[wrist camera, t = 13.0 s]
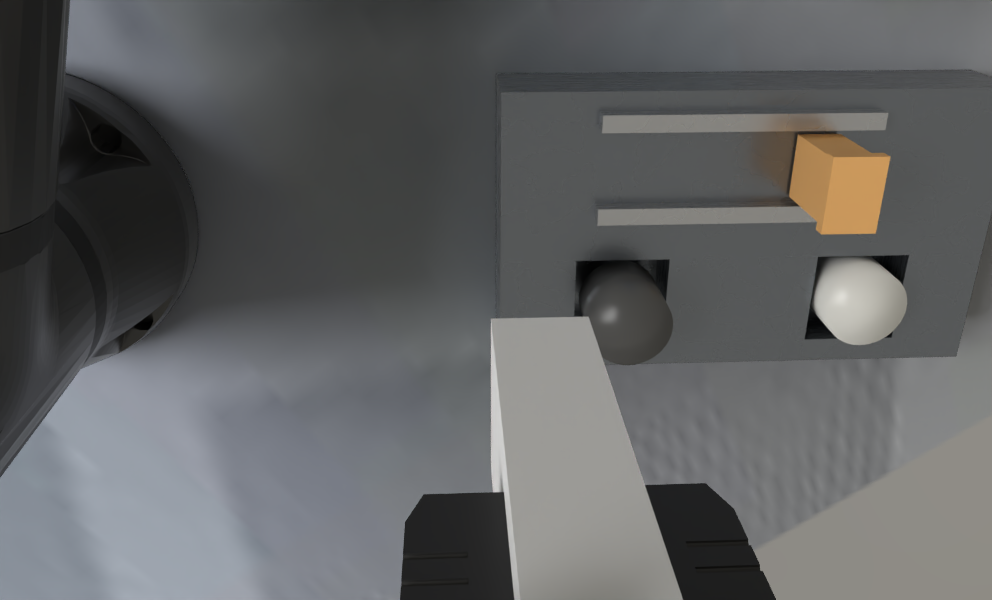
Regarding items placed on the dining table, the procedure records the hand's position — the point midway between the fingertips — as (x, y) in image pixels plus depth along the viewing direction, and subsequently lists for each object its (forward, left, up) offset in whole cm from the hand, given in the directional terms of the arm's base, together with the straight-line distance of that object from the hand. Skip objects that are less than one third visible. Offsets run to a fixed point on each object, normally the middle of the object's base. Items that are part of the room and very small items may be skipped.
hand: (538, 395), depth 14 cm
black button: (+7, -12, -29) cm, 32 cm away
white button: (+19, -12, -30) cm, 37 cm away
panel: (+13, -8, -32) cm, 36 cm away
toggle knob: (+16, -4, -28) cm, 32 cm away
